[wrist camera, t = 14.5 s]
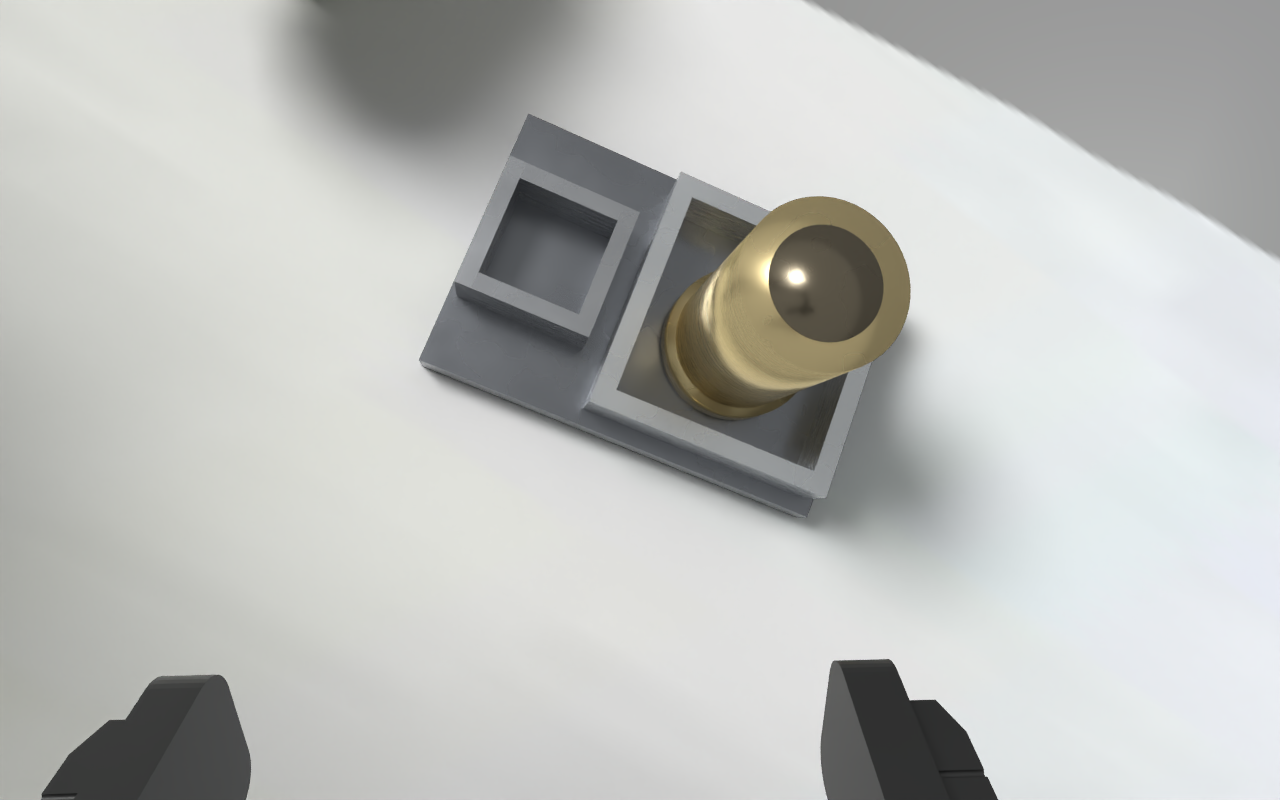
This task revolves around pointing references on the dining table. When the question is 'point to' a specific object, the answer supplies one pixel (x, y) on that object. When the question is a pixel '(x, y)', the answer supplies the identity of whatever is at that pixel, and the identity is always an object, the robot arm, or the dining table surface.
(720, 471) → the plate
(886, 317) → the brass fitting
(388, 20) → the dining table surface
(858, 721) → the robot arm
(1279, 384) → the dining table surface
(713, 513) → the dining table surface
